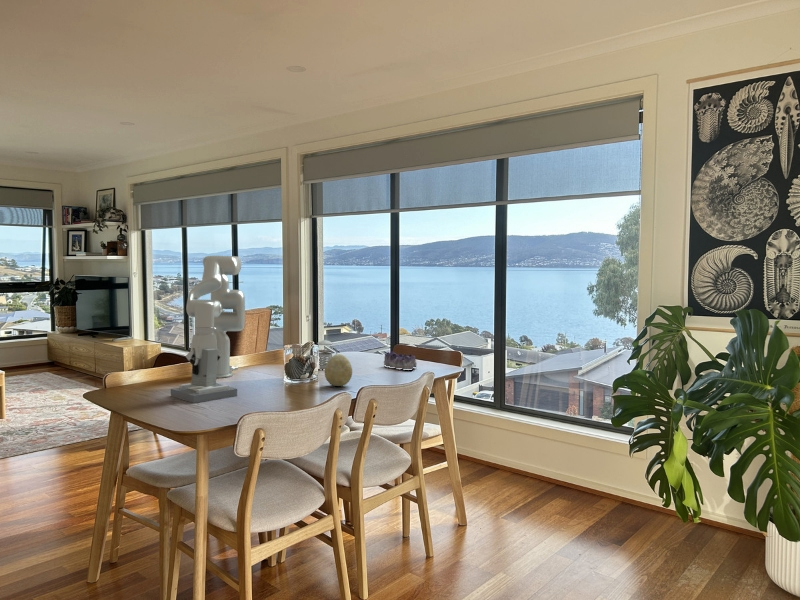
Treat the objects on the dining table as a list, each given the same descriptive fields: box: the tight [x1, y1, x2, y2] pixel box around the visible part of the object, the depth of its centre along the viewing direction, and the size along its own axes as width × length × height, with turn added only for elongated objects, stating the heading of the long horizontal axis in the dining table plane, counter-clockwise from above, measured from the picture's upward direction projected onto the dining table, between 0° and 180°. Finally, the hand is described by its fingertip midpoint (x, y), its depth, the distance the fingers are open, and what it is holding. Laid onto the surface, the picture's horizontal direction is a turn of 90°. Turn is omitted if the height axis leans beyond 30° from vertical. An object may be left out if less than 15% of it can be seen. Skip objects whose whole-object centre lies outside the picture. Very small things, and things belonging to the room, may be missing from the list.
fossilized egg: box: [324, 353, 353, 387], centre depth 284 cm, size 13×13×15 cm
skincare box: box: [190, 348, 218, 387], centre depth 258 cm, size 8×7×16 cm
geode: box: [383, 350, 417, 370], centre depth 338 cm, size 20×12×10 cm, turn 59°
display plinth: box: [170, 382, 238, 404], centre depth 258 cm, size 20×18×4 cm
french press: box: [317, 321, 338, 369], centre depth 331 cm, size 10×12×25 cm
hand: (204, 372), depth 258 cm, fingers closed on skincare box, 7 cm apart
